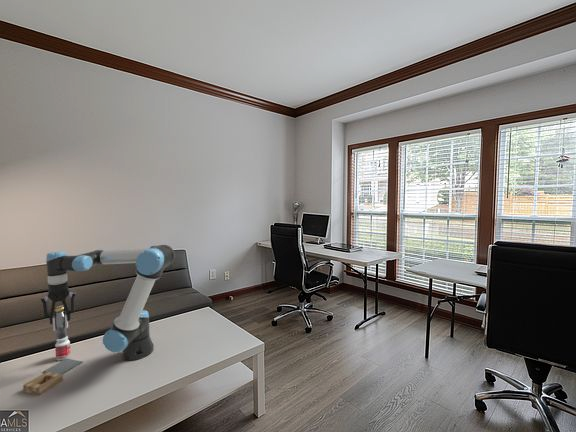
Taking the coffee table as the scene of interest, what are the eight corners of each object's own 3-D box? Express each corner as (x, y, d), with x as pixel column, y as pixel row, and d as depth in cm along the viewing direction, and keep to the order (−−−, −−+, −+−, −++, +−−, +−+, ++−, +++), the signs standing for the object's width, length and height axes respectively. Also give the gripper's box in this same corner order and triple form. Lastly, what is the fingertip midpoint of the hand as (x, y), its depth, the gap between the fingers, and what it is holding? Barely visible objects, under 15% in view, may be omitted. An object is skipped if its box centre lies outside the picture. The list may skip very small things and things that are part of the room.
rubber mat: (82, 362, 143) (82, 361, 142) (60, 375, 132) (60, 374, 132) (66, 359, 145) (66, 358, 145) (43, 372, 135) (43, 371, 135)
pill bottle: (70, 358, 146) (68, 338, 146) (55, 362, 143) (53, 341, 142) (71, 353, 151) (70, 333, 151) (57, 356, 148) (55, 337, 147)
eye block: (62, 380, 128) (62, 374, 128) (39, 395, 119) (39, 388, 119) (47, 377, 130) (47, 371, 130) (23, 391, 121) (23, 385, 121)
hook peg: (68, 334, 141) (66, 304, 140) (66, 338, 137) (64, 307, 136) (56, 336, 138) (54, 306, 138) (54, 340, 135) (52, 309, 134)
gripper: (80, 278, 144) (82, 321, 145) (36, 283, 135) (40, 330, 136) (78, 281, 137) (81, 326, 139) (33, 287, 128) (36, 336, 130)
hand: (60, 328), depth 137 cm, fingers closed on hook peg, 4 cm apart
